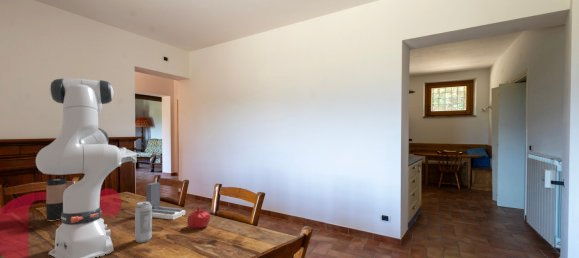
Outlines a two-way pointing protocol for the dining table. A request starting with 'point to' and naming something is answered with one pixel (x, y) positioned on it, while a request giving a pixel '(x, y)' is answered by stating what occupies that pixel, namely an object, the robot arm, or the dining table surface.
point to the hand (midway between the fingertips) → (127, 163)
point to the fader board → (167, 213)
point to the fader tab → (153, 194)
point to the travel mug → (55, 198)
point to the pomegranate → (198, 219)
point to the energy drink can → (143, 221)
